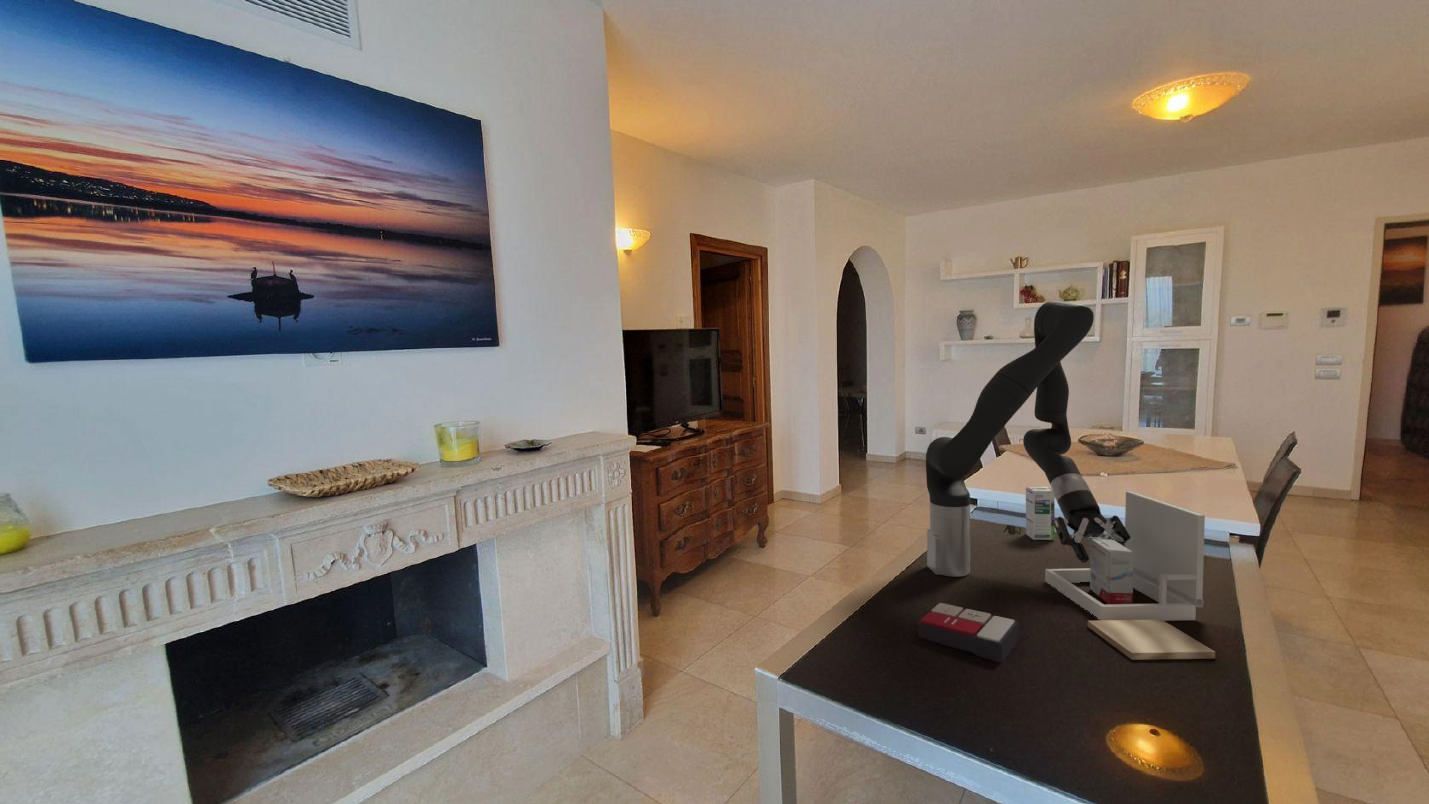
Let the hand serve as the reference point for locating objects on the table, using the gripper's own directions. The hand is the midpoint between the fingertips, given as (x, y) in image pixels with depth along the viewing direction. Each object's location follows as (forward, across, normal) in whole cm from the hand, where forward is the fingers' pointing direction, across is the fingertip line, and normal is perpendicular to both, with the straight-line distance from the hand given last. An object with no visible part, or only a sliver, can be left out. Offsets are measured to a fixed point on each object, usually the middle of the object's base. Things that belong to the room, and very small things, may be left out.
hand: (1105, 560), depth 122 cm
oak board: (+20, -6, -10) cm, 23 cm away
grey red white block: (+19, -38, -8) cm, 43 cm away
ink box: (+7, 0, +4) cm, 8 cm away
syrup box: (-22, +7, +33) cm, 40 cm away
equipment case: (+7, 0, +3) cm, 8 cm away
